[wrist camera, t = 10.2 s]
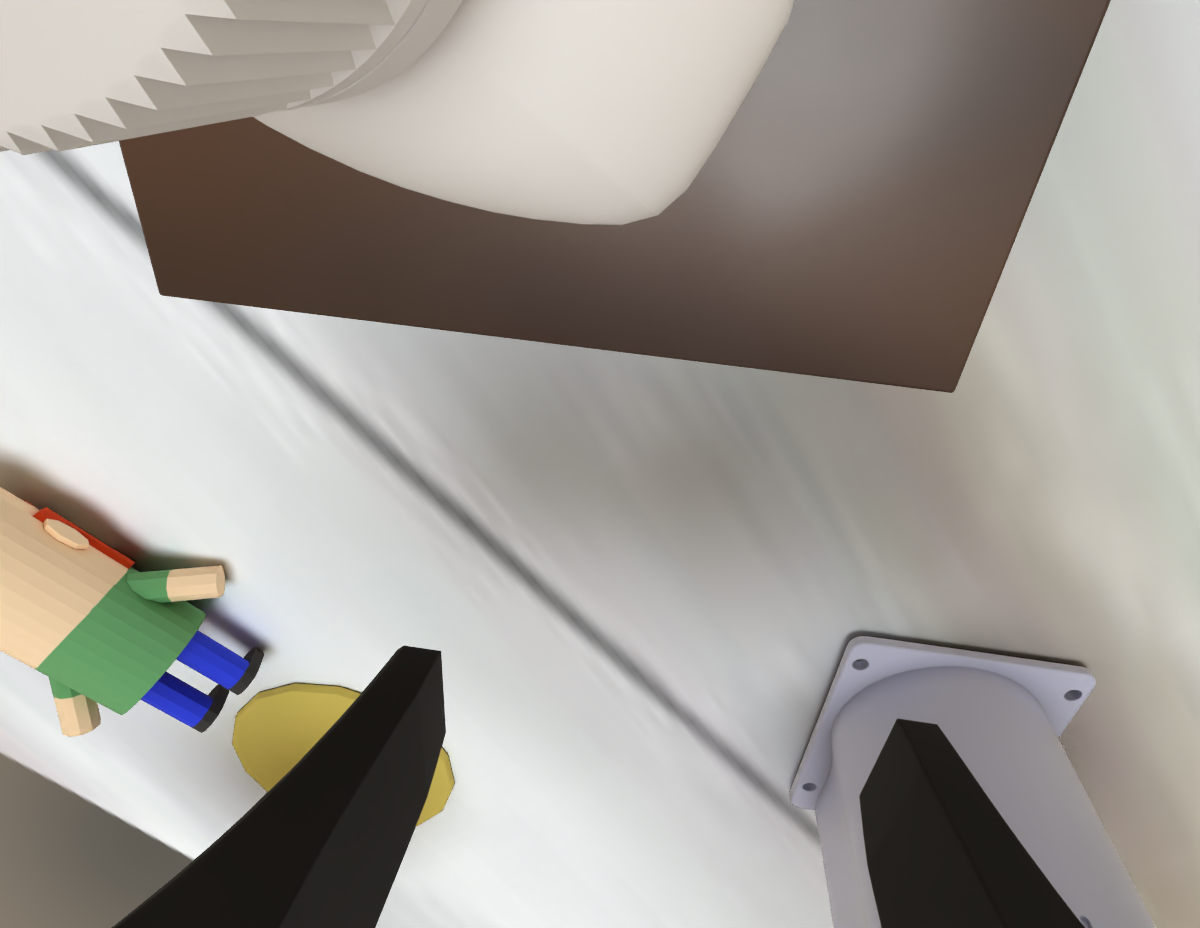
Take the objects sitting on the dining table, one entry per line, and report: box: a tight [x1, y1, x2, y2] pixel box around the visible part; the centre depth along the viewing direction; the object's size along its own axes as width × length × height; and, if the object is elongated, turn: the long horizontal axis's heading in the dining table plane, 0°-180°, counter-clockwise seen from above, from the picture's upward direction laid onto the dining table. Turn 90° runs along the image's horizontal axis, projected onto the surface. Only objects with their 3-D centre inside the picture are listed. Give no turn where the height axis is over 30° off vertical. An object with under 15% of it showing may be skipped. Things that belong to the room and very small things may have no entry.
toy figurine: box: [0, 488, 264, 737], centre depth 24 cm, size 8×4×12 cm
